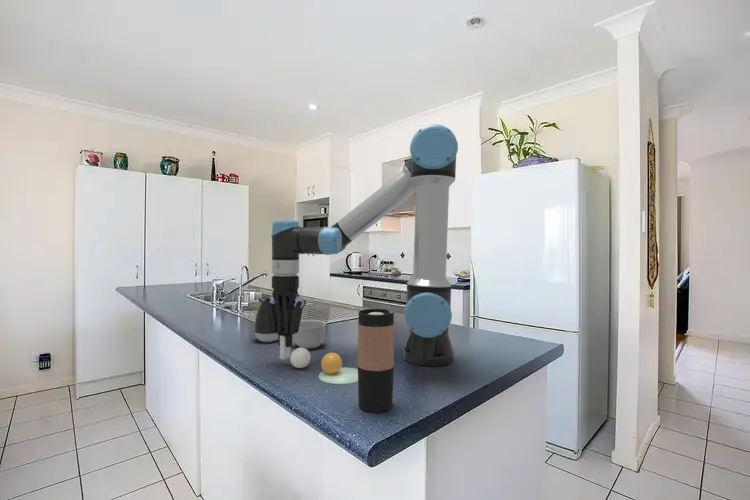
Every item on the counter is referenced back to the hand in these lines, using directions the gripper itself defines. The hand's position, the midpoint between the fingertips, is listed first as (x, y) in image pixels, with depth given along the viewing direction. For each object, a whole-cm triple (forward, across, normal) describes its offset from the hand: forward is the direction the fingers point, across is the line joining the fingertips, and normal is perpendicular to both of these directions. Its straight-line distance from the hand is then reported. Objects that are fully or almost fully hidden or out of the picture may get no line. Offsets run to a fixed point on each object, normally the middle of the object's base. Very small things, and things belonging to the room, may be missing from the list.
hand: (285, 357), depth 106 cm
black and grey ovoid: (+2, -23, +18) cm, 29 cm away
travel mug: (+2, +35, -12) cm, 37 cm away
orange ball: (-1, +16, 0) cm, 16 cm away
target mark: (+2, +19, 0) cm, 19 cm away
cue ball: (-1, +6, 0) cm, 6 cm away
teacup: (+2, -7, +18) cm, 19 cm away
